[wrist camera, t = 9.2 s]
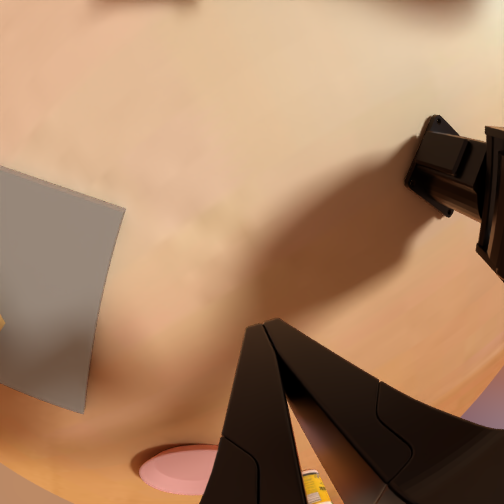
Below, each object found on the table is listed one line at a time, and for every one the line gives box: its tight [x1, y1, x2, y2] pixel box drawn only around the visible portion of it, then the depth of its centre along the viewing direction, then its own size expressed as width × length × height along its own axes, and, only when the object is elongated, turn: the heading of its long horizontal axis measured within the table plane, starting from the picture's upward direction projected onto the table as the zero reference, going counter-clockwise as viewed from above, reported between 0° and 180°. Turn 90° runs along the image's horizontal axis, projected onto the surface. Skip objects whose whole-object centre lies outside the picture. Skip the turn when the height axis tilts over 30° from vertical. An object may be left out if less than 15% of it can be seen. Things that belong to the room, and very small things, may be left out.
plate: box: [139, 444, 218, 495], centre depth 30 cm, size 14×14×2 cm
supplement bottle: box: [302, 470, 332, 504], centre depth 33 cm, size 5×5×10 cm
